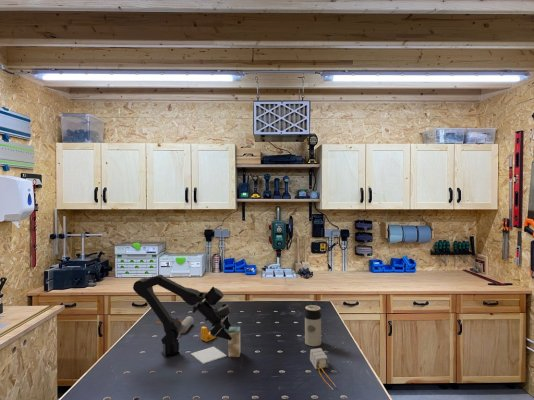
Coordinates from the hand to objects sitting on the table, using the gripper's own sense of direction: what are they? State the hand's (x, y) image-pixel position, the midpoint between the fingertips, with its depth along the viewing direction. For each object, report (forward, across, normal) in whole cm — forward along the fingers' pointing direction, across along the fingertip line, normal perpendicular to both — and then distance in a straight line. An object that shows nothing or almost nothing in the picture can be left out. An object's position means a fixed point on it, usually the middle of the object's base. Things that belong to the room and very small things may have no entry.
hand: (232, 335), depth 160 cm
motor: (-22, +31, +34) cm, 51 cm away
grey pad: (-2, -1, +14) cm, 14 cm away
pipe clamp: (-3, +20, +16) cm, 26 cm away
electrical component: (+36, -17, -22) cm, 45 cm away
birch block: (+7, 0, +6) cm, 9 cm away
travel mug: (+34, +13, -20) cm, 42 cm away
